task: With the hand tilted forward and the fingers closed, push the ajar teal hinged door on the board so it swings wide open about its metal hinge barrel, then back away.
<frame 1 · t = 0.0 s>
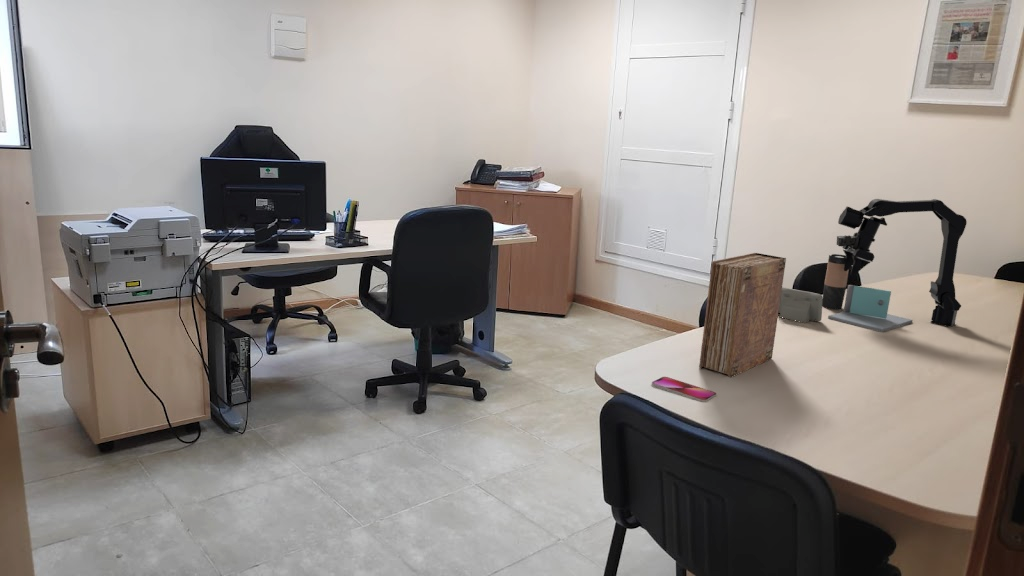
hand: (848, 273, 256), 16 cm above the table, tool pointing down, fingers open, 9 cm apart
door: (866, 301, 253), point 6 cm above the table, hinge at 30.0°
smartphone: (683, 392, 176), on the table
travel mug: (831, 307, 269), on the table, touching gripper
book: (736, 364, 198), on the table
base board: (870, 320, 252), on the table
digital clock: (796, 319, 250), on the table
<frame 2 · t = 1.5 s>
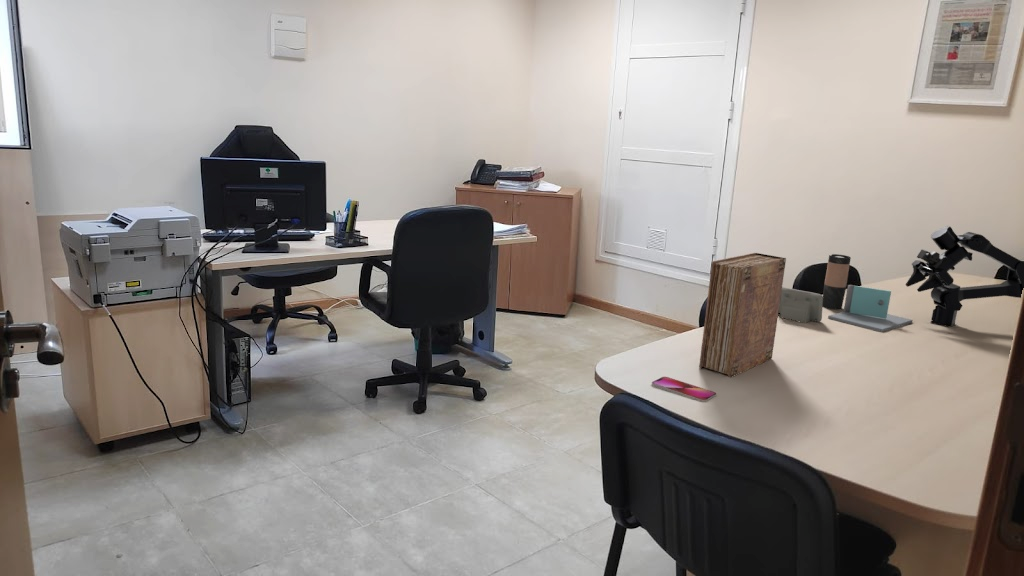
hand: (912, 288, 250), 12 cm above the table, tool tilted 45°, fingers open, 8 cm apart
travel mug: (831, 307, 269), on the table
everything else where it was.
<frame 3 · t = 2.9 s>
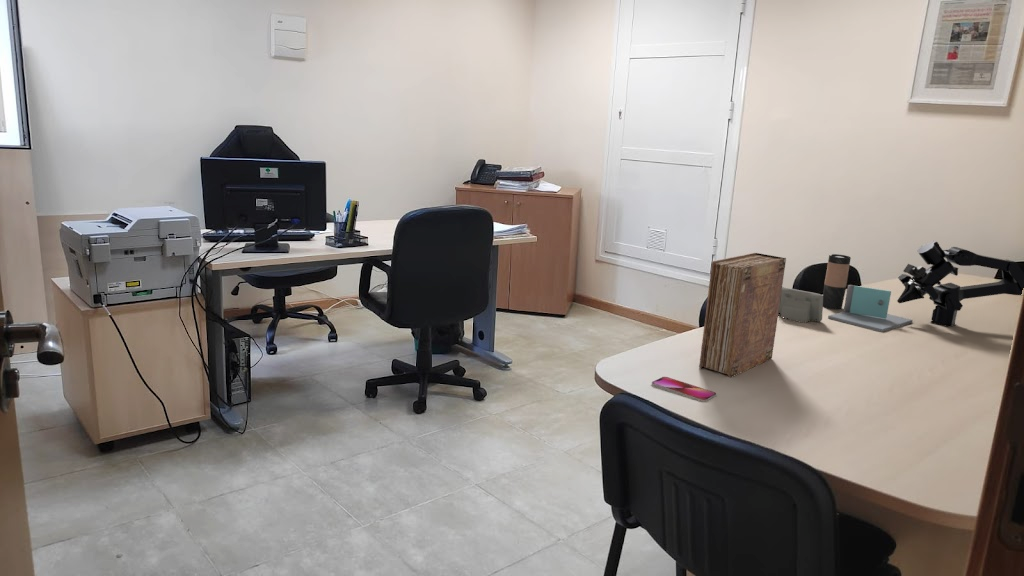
hand: (898, 302, 252), 7 cm above the table, tool tilted 45°, fingers closed
nothing on the table moved.
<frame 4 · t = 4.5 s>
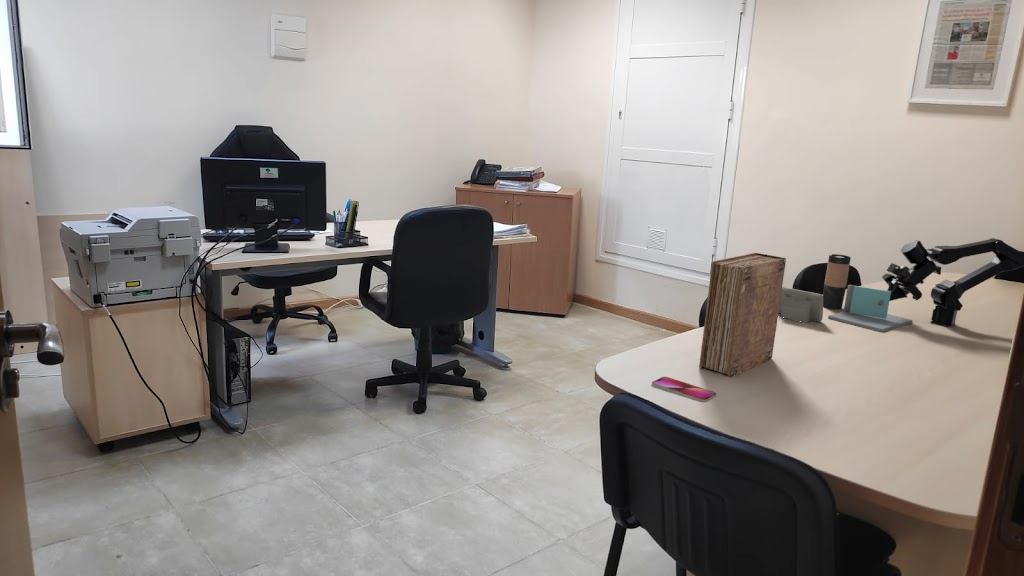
hand: (881, 301, 252), 7 cm above the table, tool tilted 45°, fingers closed
door: (866, 301, 253), point 6 cm above the table, hinge at 32.9°, touching gripper
everything else where it was.
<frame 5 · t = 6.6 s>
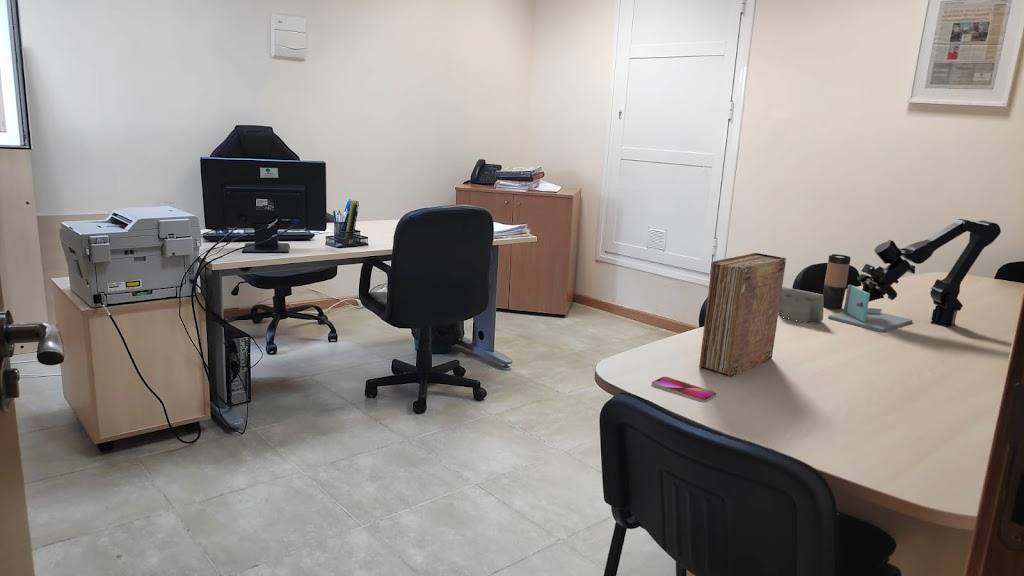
hand: (857, 302, 251), 6 cm above the table, tool tilted 45°, fingers closed, pressing on door
door: (855, 302, 250), point 6 cm above the table, hinge at 88.8°, touching gripper
everything else where it was.
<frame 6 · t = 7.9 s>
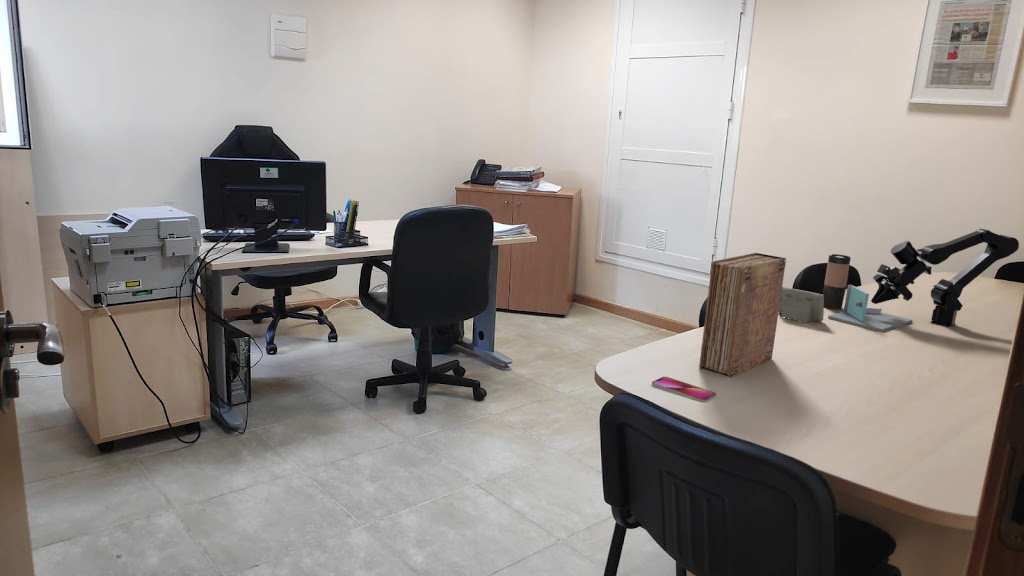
hand: (872, 302, 252), 6 cm above the table, tool tilted 45°, fingers closed
door: (854, 302, 250), point 6 cm above the table, hinge at 90.4°
everything else where it was.
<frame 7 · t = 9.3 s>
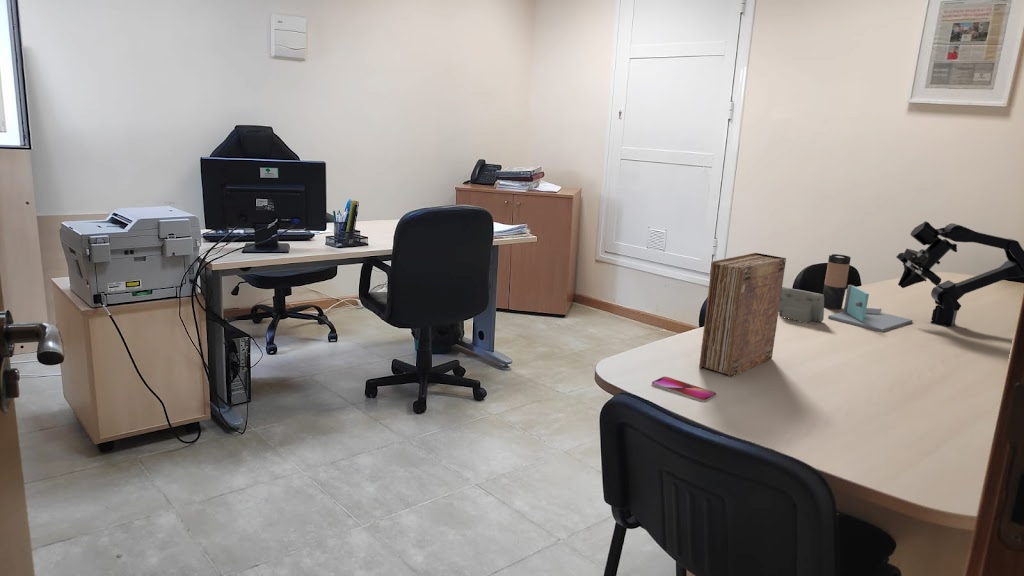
hand: (900, 286, 253), 12 cm above the table, tool tilted 35°, fingers closed
nothing on the table moved.
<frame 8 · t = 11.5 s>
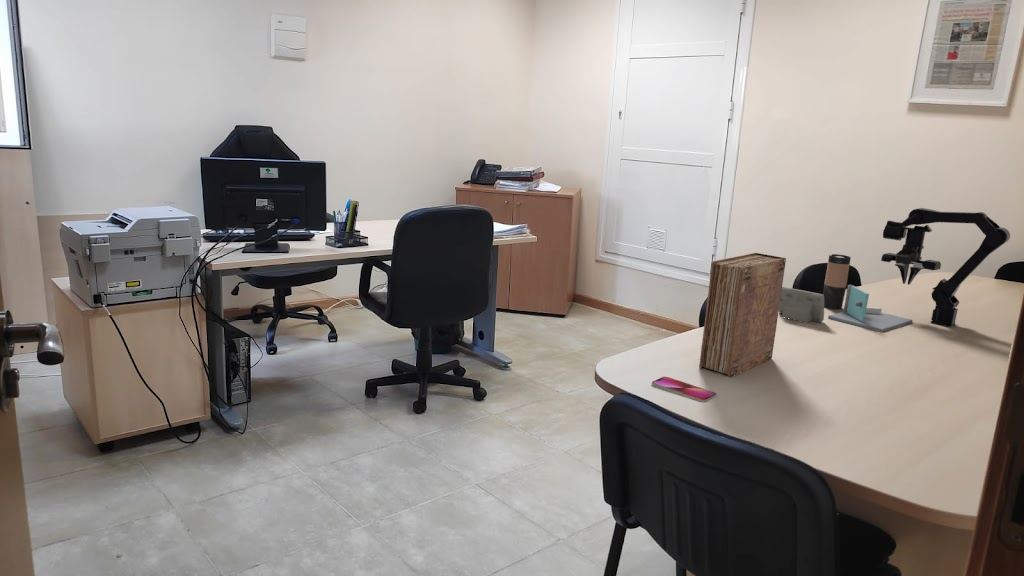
hand: (906, 284, 259), 12 cm above the table, tool pointing down, fingers closed
nothing on the table moved.
at the end: door at +90° (first picture: +30°) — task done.
